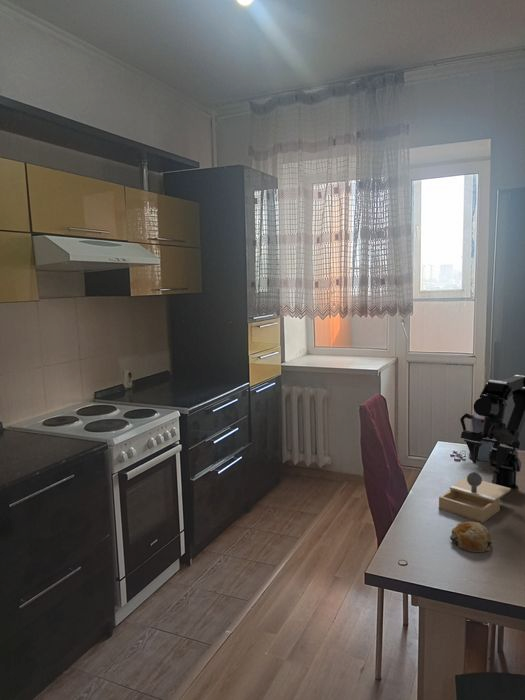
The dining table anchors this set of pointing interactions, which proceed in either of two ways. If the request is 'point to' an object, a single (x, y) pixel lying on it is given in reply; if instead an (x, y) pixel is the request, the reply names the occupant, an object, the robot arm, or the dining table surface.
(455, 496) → the wooden box
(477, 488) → the lid
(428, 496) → the dining table surface
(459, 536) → the bread roll
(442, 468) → the dining table surface
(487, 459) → the moka pot
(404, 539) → the dining table surface
